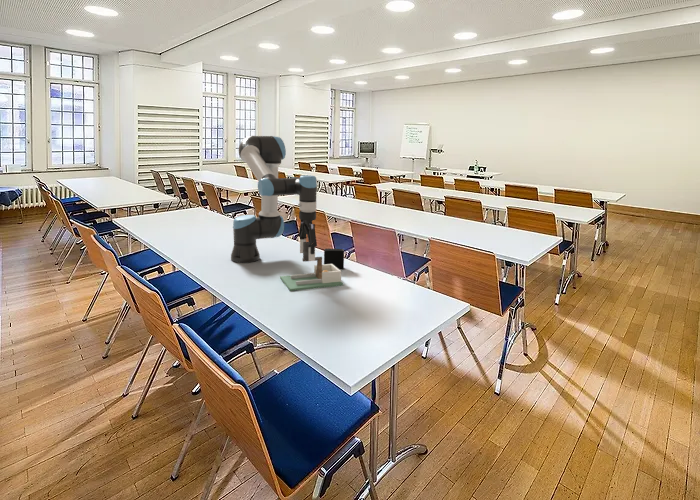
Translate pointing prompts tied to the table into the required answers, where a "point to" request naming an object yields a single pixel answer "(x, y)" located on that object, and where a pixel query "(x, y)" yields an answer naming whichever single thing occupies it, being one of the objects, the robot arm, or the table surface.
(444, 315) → the table surface
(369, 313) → the table surface
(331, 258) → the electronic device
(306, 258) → the striker
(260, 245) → the table surface
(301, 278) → the pitch
